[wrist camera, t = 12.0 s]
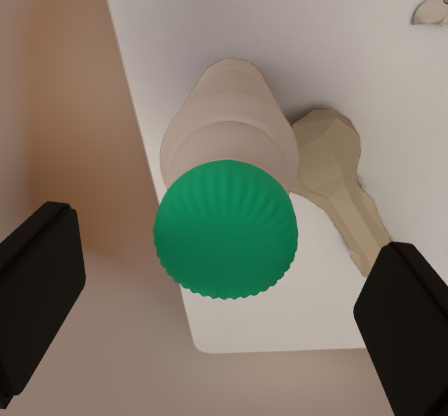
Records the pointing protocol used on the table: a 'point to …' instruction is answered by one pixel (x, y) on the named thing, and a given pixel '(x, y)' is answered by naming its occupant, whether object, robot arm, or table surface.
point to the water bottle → (228, 186)
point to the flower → (432, 13)
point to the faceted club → (338, 182)
